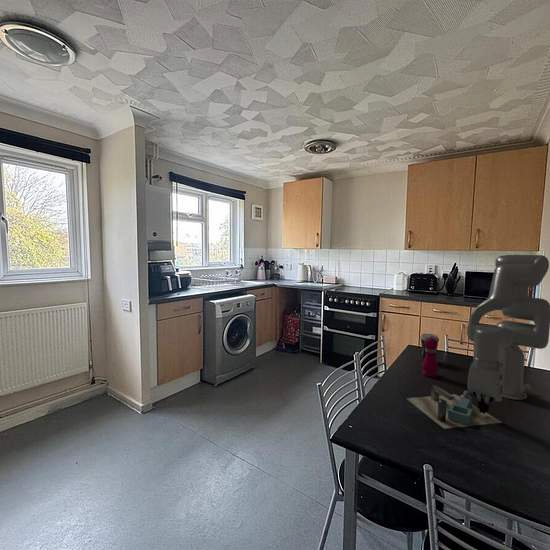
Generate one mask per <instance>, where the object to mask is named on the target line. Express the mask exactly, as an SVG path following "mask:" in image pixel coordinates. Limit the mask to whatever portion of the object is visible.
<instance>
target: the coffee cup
mask: <svg viewBox="0 0 550 550" xmlns="http://www.w3.org/2000/svg"><path fill="white" fill-rule="evenodd" d="M429 336H433V339H434V340H436V341H437V343H438V344H439V342H440V339H439V336H438V335H436V334H433V333H421V335H420V337H419V339H420V345H421V359H422V362H423V361H424V359H425V357H426V351H425V348H426V347H425V345H424V342H425V340H426V339H429ZM437 352H438V347H437V348H436V352H435V359H436V360H437Z"/></svg>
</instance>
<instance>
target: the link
mask: <svg viewBox="0 0 550 550" xmlns="http://www.w3.org/2000/svg"><path fill="white" fill-rule="evenodd" d="M459 397H460V400H459V402H458V404H457V405H455V404H451V406H450V408H449V410H448V419H451V420H455V421H458V422H461V423H464V424H468V425H469V423H470V421H471V418H472V409H469V408H470V407H472V404H473V397H472V396H470V393H469V392H468V391H467V390H464V391H463V394H460V395H459Z"/></svg>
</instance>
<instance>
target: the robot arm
mask: <svg viewBox="0 0 550 550" xmlns="http://www.w3.org/2000/svg"><path fill="white" fill-rule="evenodd" d="M549 262H550V261H549V259H548V257H547V256H545V255H543V254H505V255H500V256H498V257H496V258H495V269H494V271H493V275H492V278H491V284H490V288H489V293H488V297H487V298H486V299H485V300H484V301H483V302H480V303H479V304H478V305H477V306H476V307H475V308H474V309H473V310H472V312H471V314H470V315H469V319H468V325H467V328H466V329H467V330H466V335H467V338H468V339H469V340H470V341H471V342H473V358H472V363H470V368H469V372H468V376H467V384H466V385H467V386H466V387H467V389H466V391H468V392H469V394H471V395H473V396H474V397H475V399H476V401H477V407H478V409H479V412H480V413H483V414H485V413H488V412H489V411H490V403H492V402H499V403H500V402H502V401H503V398H505V399H509V400H516V401H522V400H527V398H528V395H527V393H526V392H525V391H526V390H531V389H532V385H531V384H529V383H528V384H524V371H525V354H524V352H523V350H522V349H521V347H527V348H532V349H539V350H542V349H545V348H546V347H547V346H548V344H549V339H550V302H549V301H548V300H547V299H544V298H540V297H531V296H530V297H529V287H537V286H539V285H540V284H541V282H542V281H543V279H544V278H545V276H546V274H547V273H548V270H549V269H550V267H549V266H550V263H549ZM497 310H501V313H502V315H503V316H504V317H506V318H512V319H516V320H525V321H531V322H533V323H534V324H533V323H525V322H520V321H512V320H501V321H499V322H497V323H496V324H495V325H492V324H486V323H480V322H481V319H482V318H483V317H484V316H485V315H487V314H488V313H491V312H495V311H497ZM484 396H485V397H484Z"/></svg>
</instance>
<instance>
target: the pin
mask: <svg viewBox="0 0 550 550" xmlns="http://www.w3.org/2000/svg"><path fill="white" fill-rule="evenodd" d="M446 405H447V401H445V400H443V399H439V400H438V420H439V421H441V422H445V421H446Z"/></svg>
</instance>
